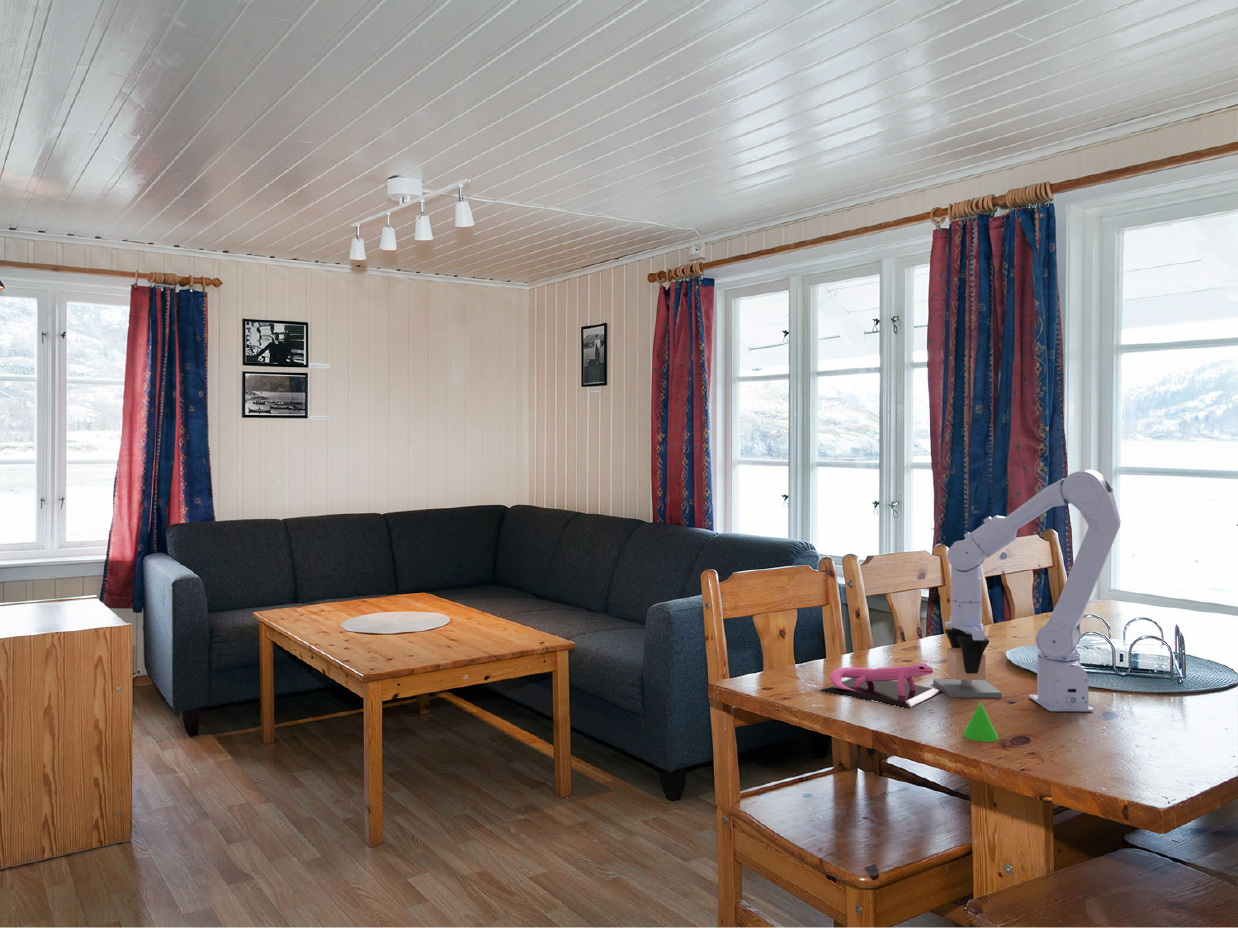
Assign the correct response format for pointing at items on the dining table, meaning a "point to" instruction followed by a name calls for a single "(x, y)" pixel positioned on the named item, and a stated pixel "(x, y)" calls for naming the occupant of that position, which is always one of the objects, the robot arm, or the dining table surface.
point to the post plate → (967, 688)
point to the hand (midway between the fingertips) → (966, 669)
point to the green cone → (980, 727)
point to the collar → (962, 666)
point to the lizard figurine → (883, 684)
